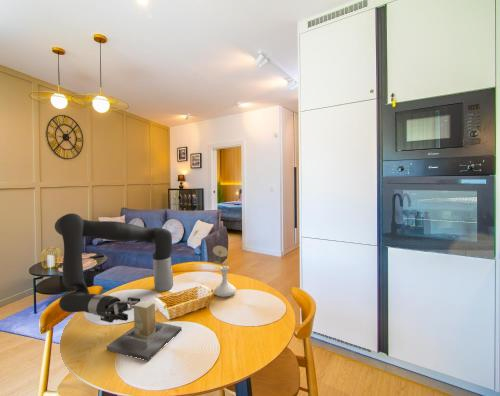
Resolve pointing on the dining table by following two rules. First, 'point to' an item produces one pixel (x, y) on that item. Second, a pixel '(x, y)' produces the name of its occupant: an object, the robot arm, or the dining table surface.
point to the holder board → (144, 342)
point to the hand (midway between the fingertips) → (136, 311)
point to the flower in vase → (223, 274)
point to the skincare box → (144, 319)
